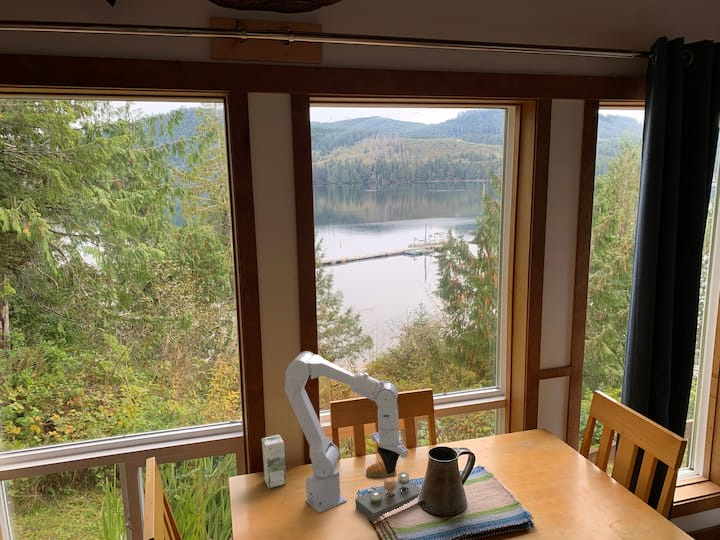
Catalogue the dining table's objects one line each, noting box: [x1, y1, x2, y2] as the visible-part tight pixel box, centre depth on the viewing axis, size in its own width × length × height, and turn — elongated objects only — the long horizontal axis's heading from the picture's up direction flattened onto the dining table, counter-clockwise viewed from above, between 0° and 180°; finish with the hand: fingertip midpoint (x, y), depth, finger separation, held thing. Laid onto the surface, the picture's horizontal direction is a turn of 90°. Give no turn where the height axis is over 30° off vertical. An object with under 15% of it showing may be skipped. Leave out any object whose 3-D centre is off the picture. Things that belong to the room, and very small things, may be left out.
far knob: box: [397, 471, 410, 492], centre depth 154 cm, size 3×3×5 cm
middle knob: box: [383, 477, 396, 498], centre depth 151 cm, size 3×3×5 cm
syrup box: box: [261, 434, 287, 490], centre depth 166 cm, size 6×6×14 cm
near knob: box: [369, 490, 382, 504], centre depth 149 cm, size 3×3×5 cm
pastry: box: [365, 460, 397, 479], centre depth 170 cm, size 9×7×4 cm
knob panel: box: [354, 480, 422, 523], centre depth 152 cm, size 18×9×3 cm, turn 124°
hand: (390, 472), depth 151 cm, fingers closed
